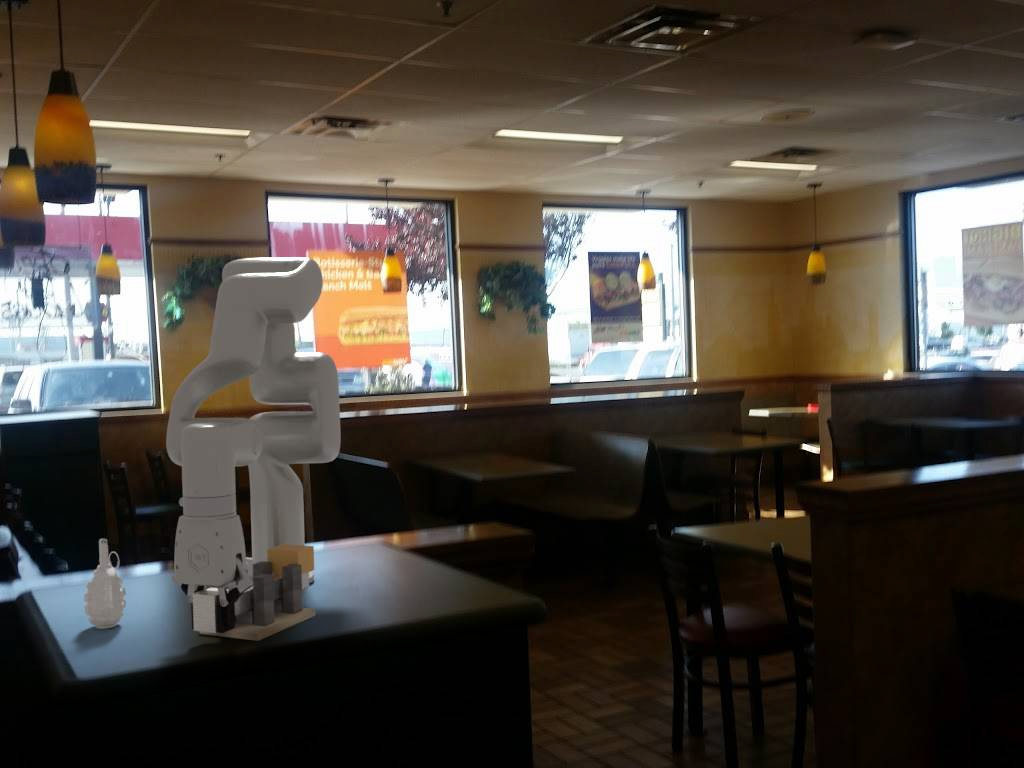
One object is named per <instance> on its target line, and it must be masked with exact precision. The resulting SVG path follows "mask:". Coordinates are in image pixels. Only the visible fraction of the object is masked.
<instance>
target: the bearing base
mask: <svg viewBox="0 0 1024 768" xmlns="http://www.w3.org/2000/svg"><path fill="white" fill-rule="evenodd" d="M282 578H283V597H281V598H278V599H276V600H274V588H273V575H272V562H265V561H261V562H258V563H255V564H253V599H254V608H253V609H250V610H248V611H245V612H243V613H240V614H238V615H235V628H234V629H232V630H229V631H227V632H225V633H219V632H217V633H210V632H202V631H199V634H200V635H207V636H218V637H223V638H224V637H225V638H233V639H240V640H241V639H242V640H248V641H249V640H250V641H257V642H258V641H261V640H263V639H265V638H268V637H270V636H272V635H275V634H277V633H279V632H282V631H283V630H285V629H289V628H291V627H293V626H295V625H297V624H299V623H301V622H304V621H306V620H308V619H311V618H313V617H315V616H316V615H317V612H316V610H317V609H314V608H307V607H305V608H304V607H303V589H302V570H301V565H300V564H289V565H286V566H283V567H282ZM235 582H236V586H237V585H238V583H239V582H238V581H235ZM227 589H228V587H227Z"/></svg>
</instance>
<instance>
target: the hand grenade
mask: <svg viewBox="0 0 1024 768" xmlns="http://www.w3.org/2000/svg"><path fill="white" fill-rule="evenodd" d="M98 552H99V559H98V562H99V564H98V565H97V567H96V569H94V571H93V577H92V578H90V580H89V581H88V582H87V584H86V586H85V587H86V589H87V591H86V592H85V593H84V597H83V601H84V602H86V605H85V606H84V613H85V615H87V616H89V617H88V619H87V621H88V622H89V624H91V625H93V626H95V628H96V629H99V630H101V629H103V630H104V629H110V628H114V627H116V626H117V625H118V622H120V621H121V619H122V618H123V616H124V613H123V611H124V609H125V608H126V606H127V600H126V599H124V598H125V596H126V594H127V593H126V589H125V587H124V586H123V585H122V584H123V583H124V582H123V580H122V577H121V576H119V574H118V573H117V572H116V570H118V569H119V567H120V563H121V562H120V557H119V555H118V553H117V552H116V551H111V552H110V553H109V545H108V539H107V538H100V539H99V540H98ZM112 554H115V555H116V557H117V564H116V567H114V565H112V561H111V558H110V557H111V555H112Z"/></svg>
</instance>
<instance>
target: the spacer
mask: <svg viewBox="0 0 1024 768" xmlns="http://www.w3.org/2000/svg"><path fill="white" fill-rule="evenodd" d="M314 554H315V551H314V545H305V546H304V545H291V544H282V545H279V546H275V547H272V548H269V549H267V560H268V562H272V574H282V567H283V566H286V565H289V564H300V565H301V570H302V574H305V573H308V572H310V571H311V572H313V571H314V570H315V555H314Z"/></svg>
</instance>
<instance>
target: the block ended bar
mask: <svg viewBox="0 0 1024 768" xmlns="http://www.w3.org/2000/svg"><path fill="white" fill-rule="evenodd" d="M309 587H310V583H309V572H308V573H305V574H302V590H303V589H306V588H309ZM273 588H274V600H276V599H278V598H281V597H283V578H282V574H274V575H273ZM228 593H229V592H228V589H227V594H228ZM220 605H221V604H220V599H219V594H218V588H217V587H210V586H209V587H207V588H206V589H205V590H202V591H199V592H196V593H193V621H194V630H193V631H194V632H200V631H202V632H210V633H217V632H218V618H217V608H218V606H220ZM253 608H254V599H253V586H252V587H250V588H249V589H248V590H246V591H245V592H244V593H243V594H242V595H241V596H240V597H239V600H238V601H237V602H235V615H238V614H240V613H243V612H245V611H248V610H250V609H253Z"/></svg>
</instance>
